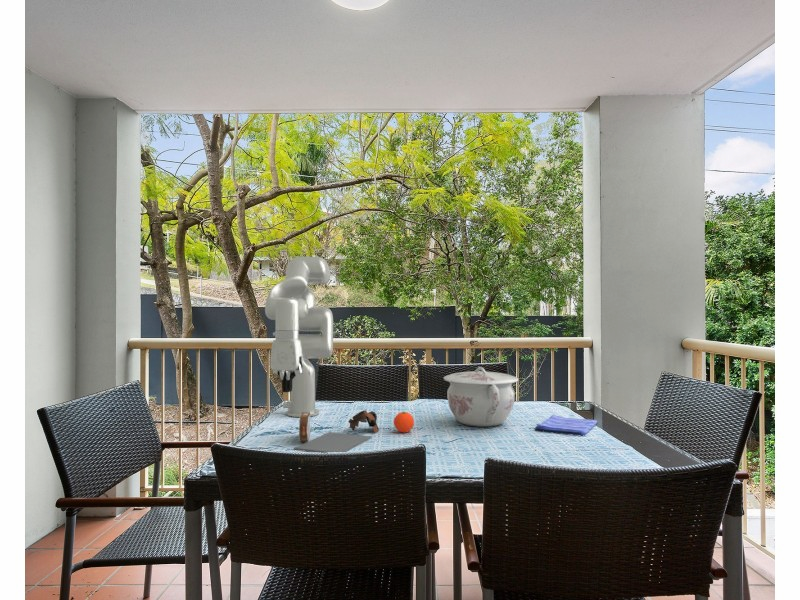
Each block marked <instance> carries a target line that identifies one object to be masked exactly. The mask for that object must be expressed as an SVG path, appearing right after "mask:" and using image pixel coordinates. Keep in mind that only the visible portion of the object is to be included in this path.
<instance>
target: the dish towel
mask: <svg viewBox="0 0 800 600" xmlns="http://www.w3.org/2000/svg"><path fill="white" fill-rule="evenodd" d="M597 423H598V420H597V419H586V418H584V419H583V418H573V417H572V418H571V417H565V416H560V415H556V414H552V415H550V417H548V418H547V419H545V421H542V422H541V423H537V424H536V427H535V428H534V431H537V432H543V431H544V432H543V433H551V432H553V433H554V434H560V433H563V434H562V435H568V434H573V435H572V436H577V435H582V436H581V437H584V436H585V435H587V434H588V433H589V432H590V431H591V430H592V429H593V428H595V426H596V425H597ZM586 433H587V434H586ZM583 435H584V436H583Z"/></svg>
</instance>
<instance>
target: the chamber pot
mask: <svg viewBox="0 0 800 600" xmlns="http://www.w3.org/2000/svg"><path fill="white" fill-rule="evenodd" d="M443 380H444V381H446V382H449V387H448V388H447V402H448V407H449V409H450V411H451V413H452V415H453V416H454V418H455V420H456V421H457V422H459V423H461V424H463V425H465V426H468V425H469V427H473V426H477V428H491V426H492V427H496V426H498V425H501V424H504V423H505V422H506V421H507V419H508V417H509V415H510V414H511V413H512V411H513V409H514V404H515V397H516V394H515V393H516V392H515V390H514V388H513V386H512V385H513V384H515V383H518V381H519V378H518V377H517V376H515V375H511V374H508V373H502V372H496V371H495V372H494V371H486V370H485V368H484V367H483V366H478V367H477V368H476V369H475V370H474V371H473V370H472V371H463V372H461V371H460V372H454V373H450V374H448V375H445V376H443Z"/></svg>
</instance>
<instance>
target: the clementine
mask: <svg viewBox="0 0 800 600" xmlns="http://www.w3.org/2000/svg"><path fill="white" fill-rule="evenodd" d="M414 424H415V420H414V418H413V415H412V414H410V413H409V412H407V411H401V412H399V413H397V414H396V416H394V419H393V425H394V428H395V429H396V430H397V431H398V432H399V433H408V432H410V431H411V430H412V429H413V427H414Z"/></svg>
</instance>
